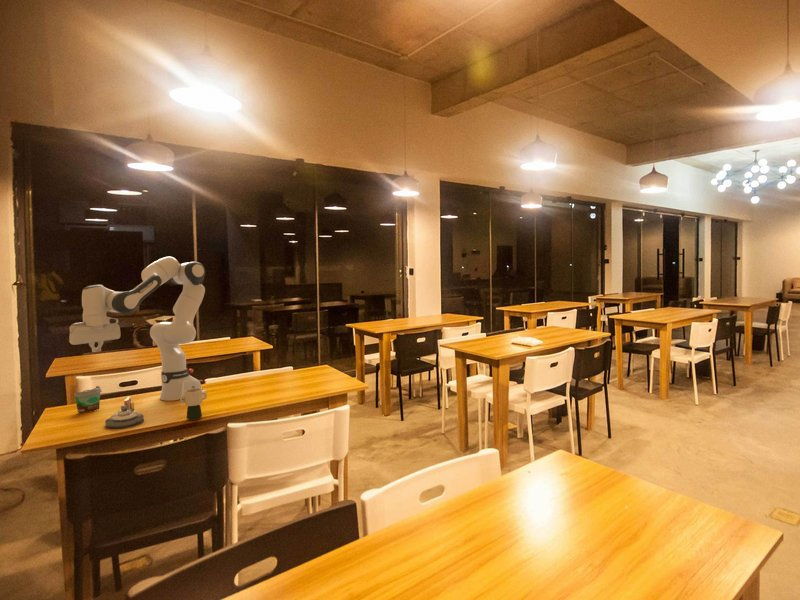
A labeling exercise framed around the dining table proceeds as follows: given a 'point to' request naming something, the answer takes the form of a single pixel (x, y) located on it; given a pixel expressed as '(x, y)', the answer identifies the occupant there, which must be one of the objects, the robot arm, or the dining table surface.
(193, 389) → the character mug
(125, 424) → the handwheel with crank handle
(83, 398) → the food container
